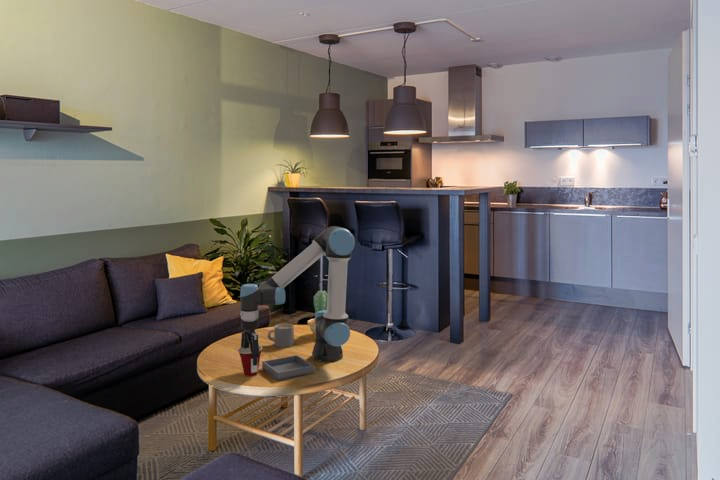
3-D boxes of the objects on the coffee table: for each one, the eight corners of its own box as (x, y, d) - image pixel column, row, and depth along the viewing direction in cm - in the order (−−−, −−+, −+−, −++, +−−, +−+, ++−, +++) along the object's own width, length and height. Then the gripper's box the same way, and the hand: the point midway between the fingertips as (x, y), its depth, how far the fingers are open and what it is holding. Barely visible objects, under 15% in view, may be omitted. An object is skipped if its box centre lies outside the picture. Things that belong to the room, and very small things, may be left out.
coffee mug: (296, 342, 294) (296, 324, 293) (291, 348, 284) (290, 329, 283) (271, 341, 296) (271, 322, 295) (265, 346, 286) (265, 327, 285)
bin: (296, 362, 263) (296, 354, 262) (314, 373, 248) (314, 365, 248) (262, 368, 253) (262, 361, 253) (278, 380, 239) (278, 372, 238)
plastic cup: (241, 369, 252) (240, 344, 250) (264, 370, 251) (264, 344, 250) (235, 378, 241) (234, 351, 240) (259, 378, 241) (259, 352, 239)
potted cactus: (338, 332, 313) (338, 289, 310) (330, 340, 298) (330, 294, 295) (312, 330, 316) (312, 287, 314) (303, 338, 301) (303, 293, 299)
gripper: (232, 315, 250) (233, 363, 253) (250, 326, 232) (251, 377, 235) (248, 313, 255) (249, 360, 257) (267, 323, 236) (267, 374, 239)
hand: (250, 368), depth 246 cm, fingers closed on plastic cup, 9 cm apart
